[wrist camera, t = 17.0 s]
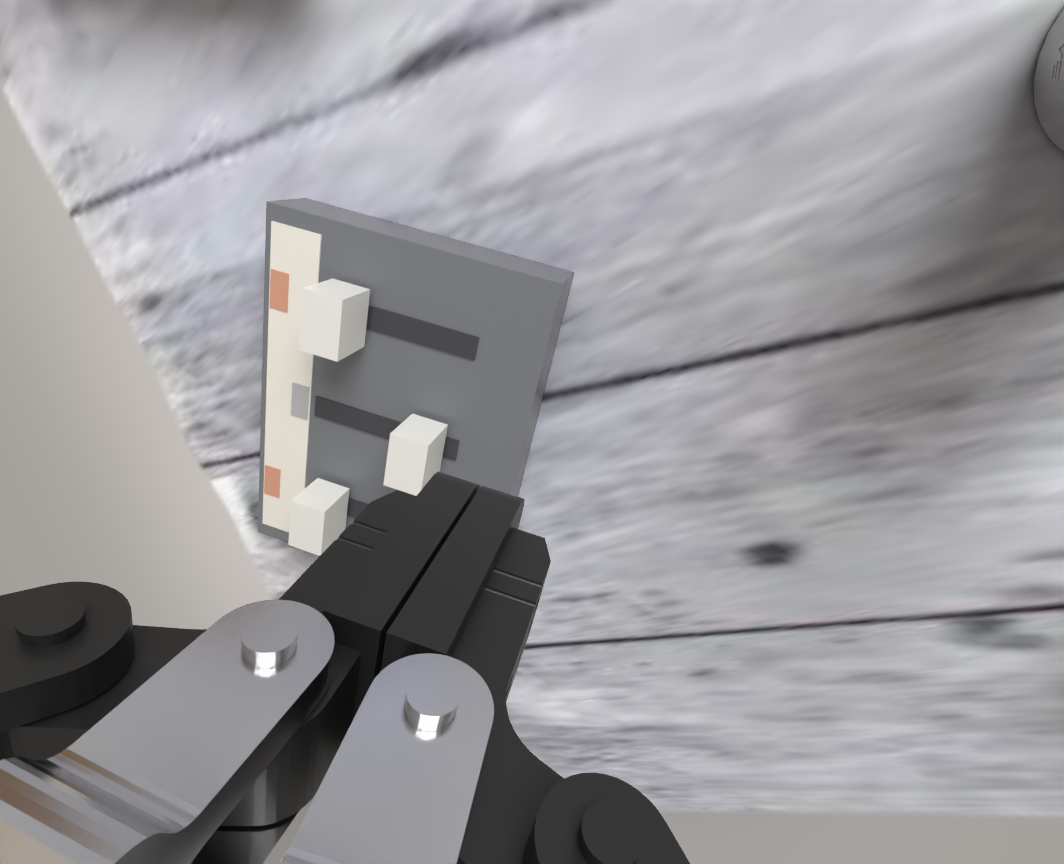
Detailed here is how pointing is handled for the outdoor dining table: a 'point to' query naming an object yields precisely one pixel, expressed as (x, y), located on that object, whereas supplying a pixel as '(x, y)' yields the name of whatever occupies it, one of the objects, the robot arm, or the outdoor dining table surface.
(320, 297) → the switch tab
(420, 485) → the switch tab
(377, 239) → the panel
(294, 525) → the switch tab
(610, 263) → the outdoor dining table surface
